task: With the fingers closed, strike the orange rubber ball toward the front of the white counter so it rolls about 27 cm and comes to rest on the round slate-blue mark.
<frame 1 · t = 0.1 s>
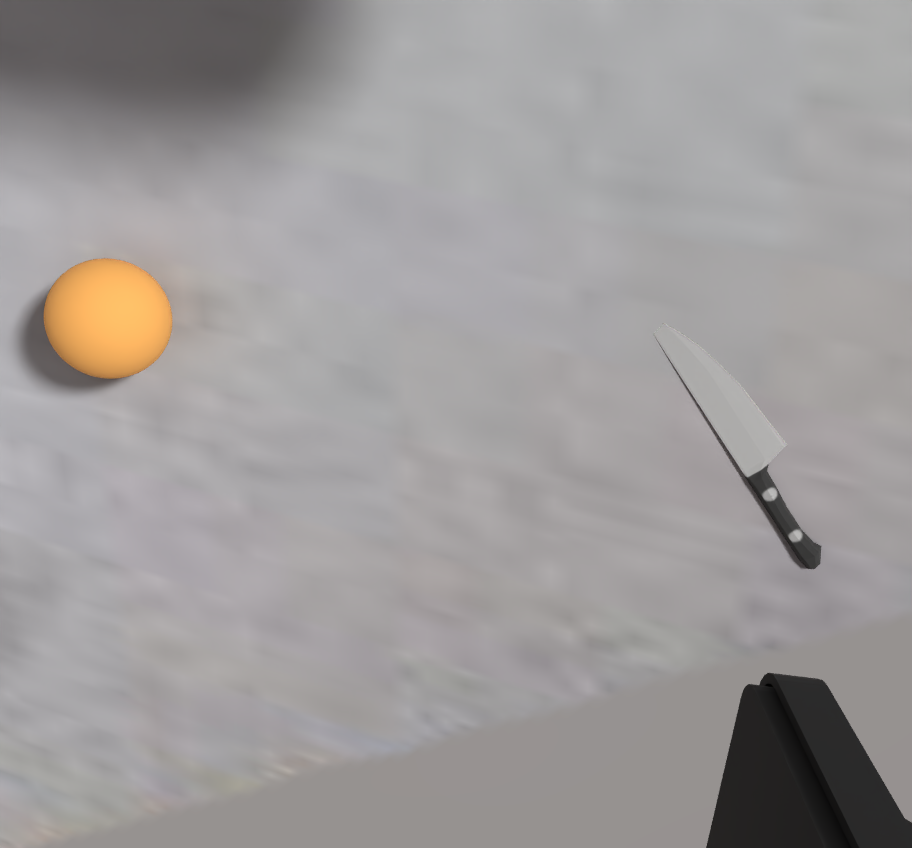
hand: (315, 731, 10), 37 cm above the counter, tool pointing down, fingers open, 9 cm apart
chef's knife: (741, 418, 46), on the counter
ball: (109, 319, 43), on the counter
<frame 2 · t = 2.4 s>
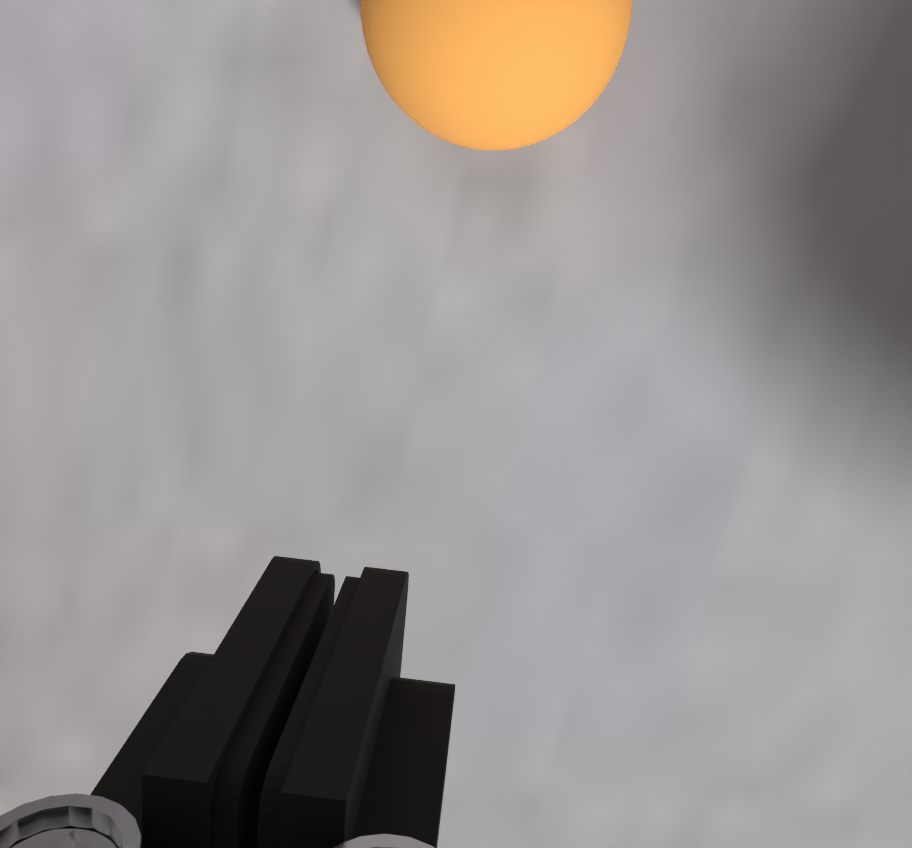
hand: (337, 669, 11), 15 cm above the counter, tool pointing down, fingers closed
ball: (495, 9, 19), on the counter
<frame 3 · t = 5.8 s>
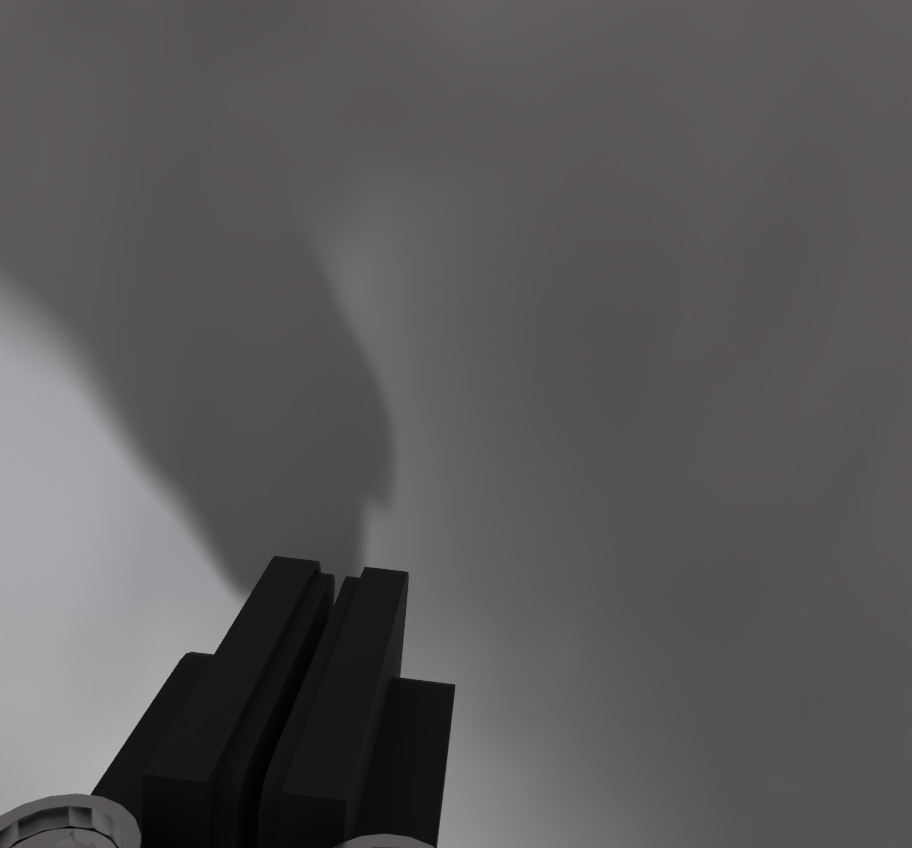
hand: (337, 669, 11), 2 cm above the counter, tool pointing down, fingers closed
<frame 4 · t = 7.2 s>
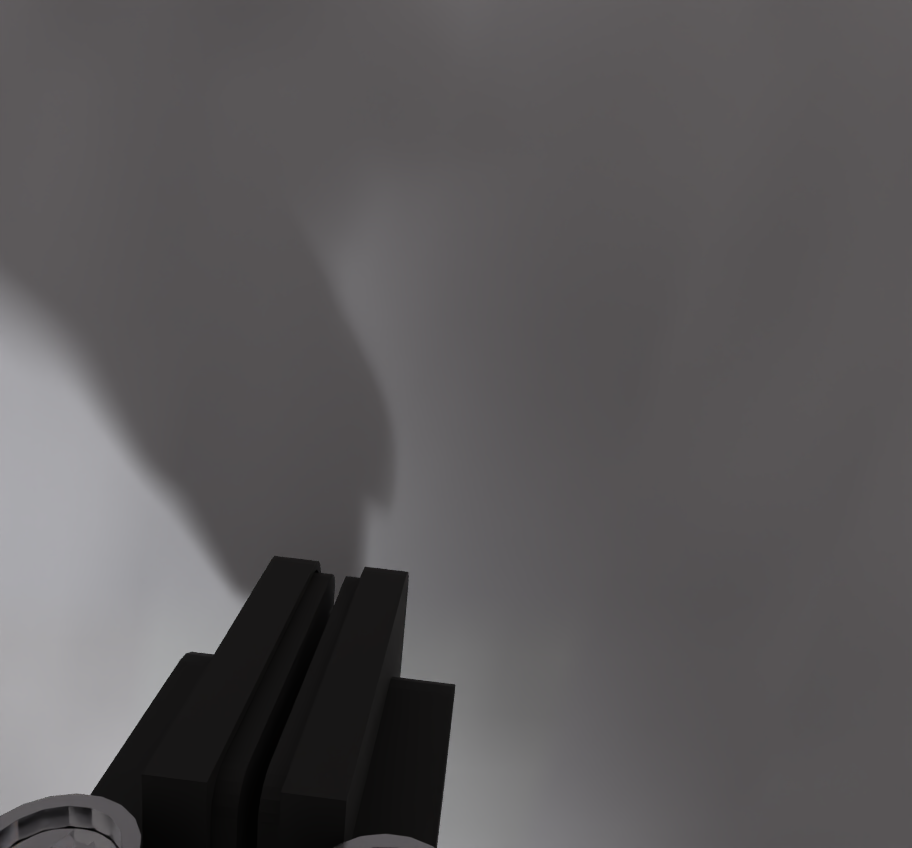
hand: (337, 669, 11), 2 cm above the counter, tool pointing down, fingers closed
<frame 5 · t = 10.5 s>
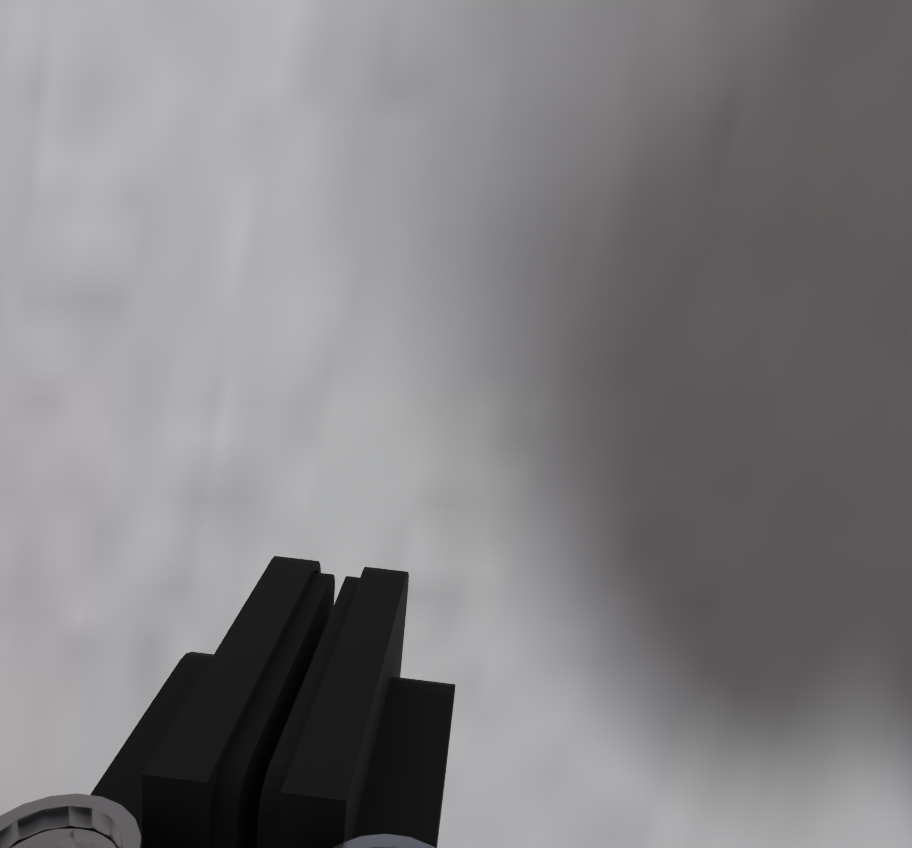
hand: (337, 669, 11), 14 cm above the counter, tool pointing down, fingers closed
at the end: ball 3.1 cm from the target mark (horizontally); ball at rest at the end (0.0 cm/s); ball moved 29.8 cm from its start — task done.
